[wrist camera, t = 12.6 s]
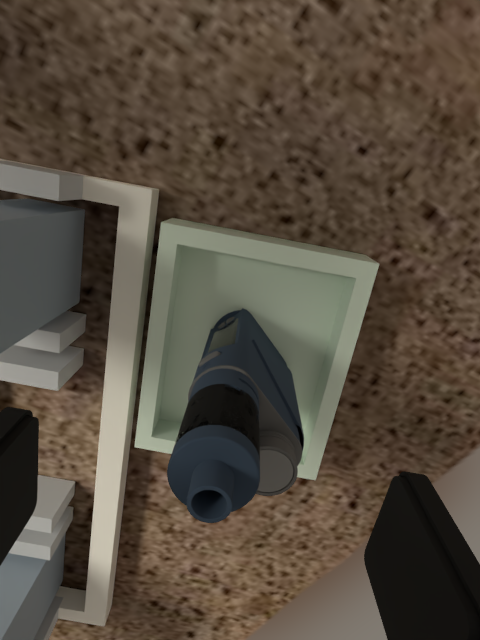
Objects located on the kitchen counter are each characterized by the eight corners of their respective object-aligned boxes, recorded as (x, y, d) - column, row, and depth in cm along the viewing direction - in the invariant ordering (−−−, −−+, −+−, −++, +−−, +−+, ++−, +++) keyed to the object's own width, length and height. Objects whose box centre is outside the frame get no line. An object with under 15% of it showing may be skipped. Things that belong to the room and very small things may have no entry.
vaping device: (242, 296, 20) (223, 438, 9) (299, 376, 21) (348, 593, 10) (200, 323, 21) (131, 491, 9) (258, 400, 22) (260, 632, 10)
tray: (172, 217, 20) (161, 221, 18) (365, 254, 20) (379, 263, 18) (146, 421, 24) (134, 447, 21) (309, 450, 24) (315, 480, 21)
